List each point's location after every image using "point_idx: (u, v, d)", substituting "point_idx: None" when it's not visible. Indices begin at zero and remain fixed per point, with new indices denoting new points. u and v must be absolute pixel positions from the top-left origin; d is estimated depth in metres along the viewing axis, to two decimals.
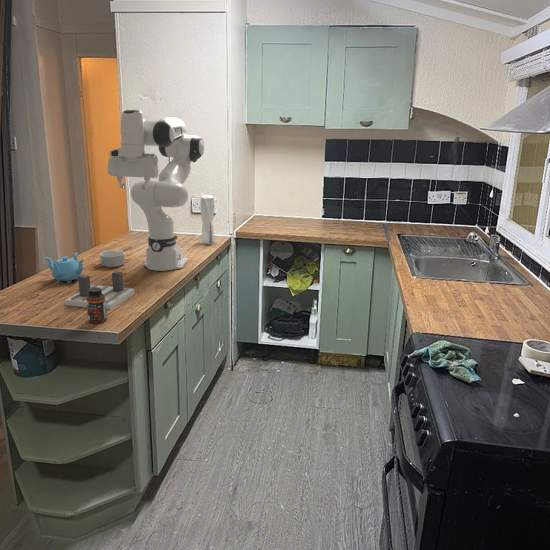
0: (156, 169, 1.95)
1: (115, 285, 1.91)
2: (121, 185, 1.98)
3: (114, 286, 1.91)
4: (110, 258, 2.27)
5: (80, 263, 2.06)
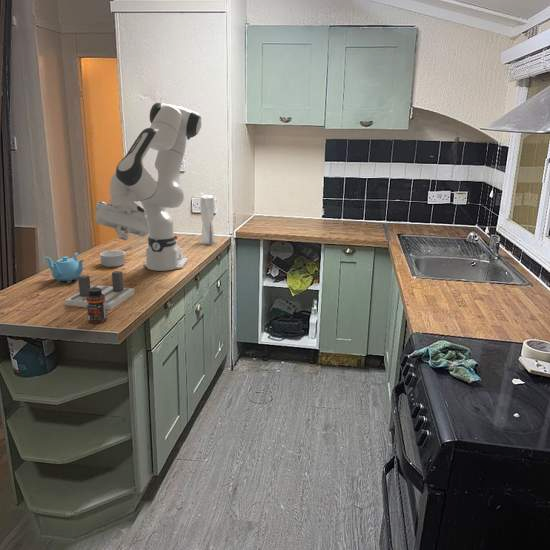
0: (97, 213, 1.81)
1: (115, 285, 1.91)
2: None
3: (114, 286, 1.91)
4: (111, 258, 2.27)
5: (80, 263, 2.06)
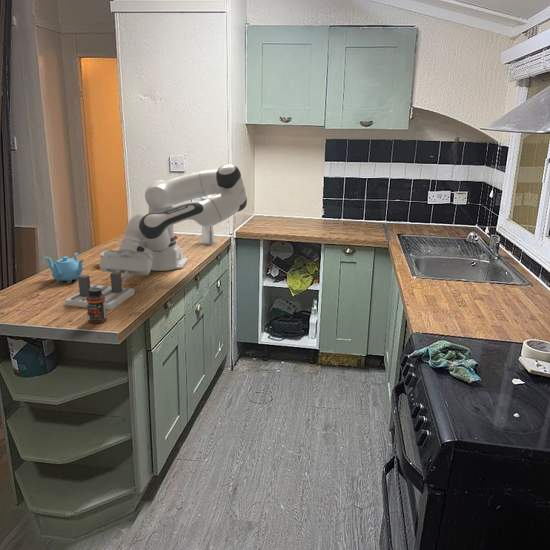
0: None
1: (114, 286, 1.90)
2: None
3: (113, 287, 1.90)
4: None
5: (80, 263, 2.06)
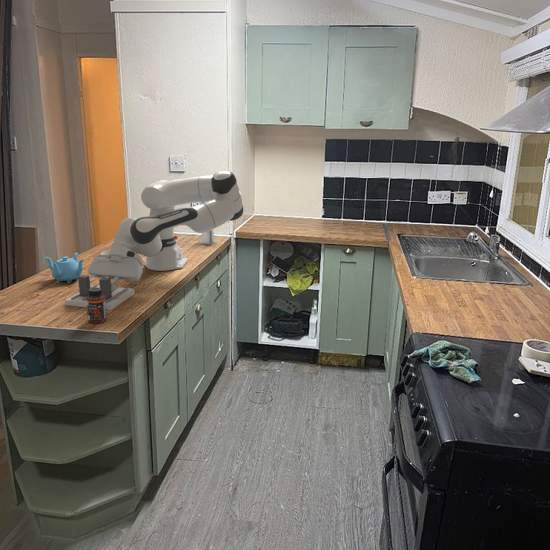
0: None
1: (103, 292, 1.82)
2: None
3: (102, 293, 1.83)
4: None
5: (80, 263, 2.06)
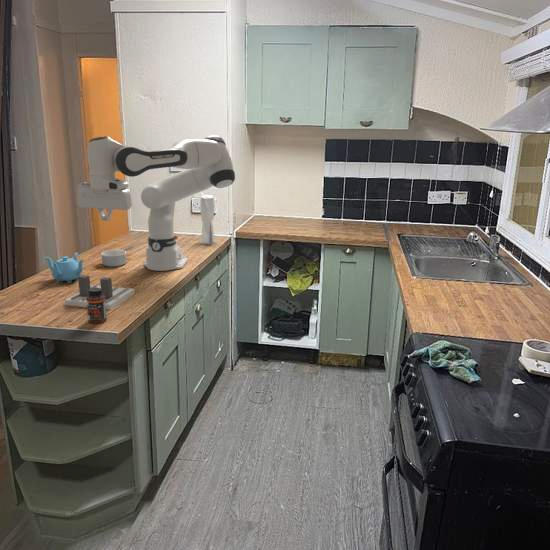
0: None
1: (104, 292, 1.83)
2: None
3: (103, 293, 1.83)
4: (112, 257, 2.28)
5: (80, 263, 2.06)
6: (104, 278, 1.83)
